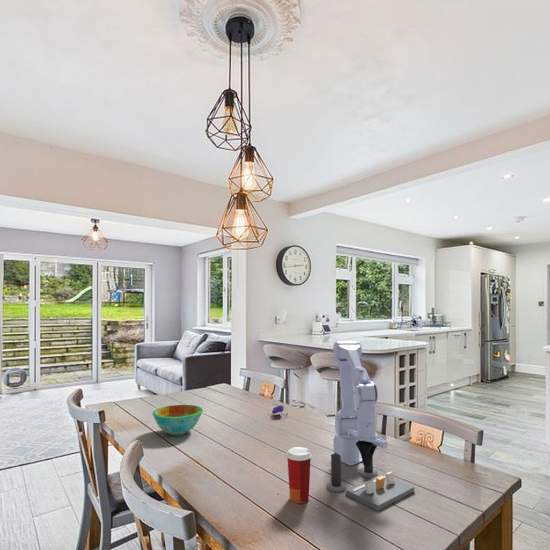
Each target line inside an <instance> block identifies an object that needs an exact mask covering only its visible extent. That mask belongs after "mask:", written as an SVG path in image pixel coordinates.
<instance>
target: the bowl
mask: <svg viewBox="0 0 550 550" xmlns="http://www.w3.org/2000/svg"><path fill="white" fill-rule="evenodd" d="M203 411H204V409H203V408H202V407H200V406H197V405H194V404H173V405H166V406H163V407H158V408H157V409H155V410H153V412H152V416H153V418H154V420H155V422H156V424H157V426H158V427H159V428H160V430H161V431H163V433H167V434H169V435H170V436H172V435H173V437H175V436H177V437H179V436H183V435H185V434H186V433H188V432H190V431H191V430H192V429H194V428H195V426H196V425H197V423H198V421H199V419H200V417H201V416H202V413H203Z"/></svg>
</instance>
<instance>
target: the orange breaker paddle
mask: <svg viewBox="0 0 550 550" xmlns="http://www.w3.org/2000/svg"><path fill="white" fill-rule="evenodd" d="M384 481H385V477H383V476H380V477H377V478H376V486H375V487H376V488H377V489H380V488H382V487H384Z"/></svg>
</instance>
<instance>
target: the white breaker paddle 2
mask: <svg viewBox="0 0 550 550" xmlns="http://www.w3.org/2000/svg"><path fill="white" fill-rule="evenodd" d="M384 475H385V476H386V482H387V484H392V483H394V482H395V480H394V479H395V473H394V471H388V472H385V473H384Z"/></svg>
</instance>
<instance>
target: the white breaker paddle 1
mask: <svg viewBox="0 0 550 550" xmlns="http://www.w3.org/2000/svg"><path fill="white" fill-rule="evenodd" d="M368 480H369V479H368ZM366 481H367V480H366ZM364 482H365V481H364ZM365 488H366V493H367V494H371V493H373V492H375V489H374V482H373V481H372V480H369V481H367V482H365Z"/></svg>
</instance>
